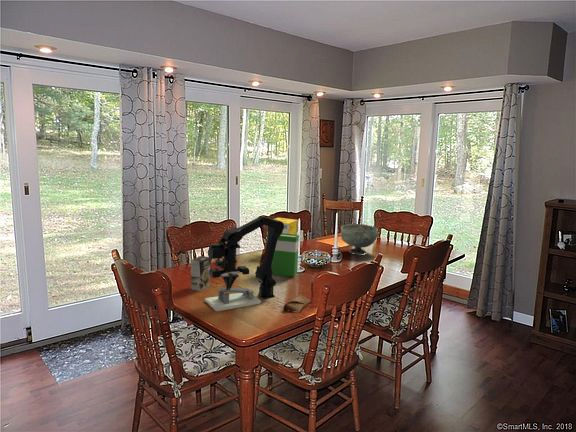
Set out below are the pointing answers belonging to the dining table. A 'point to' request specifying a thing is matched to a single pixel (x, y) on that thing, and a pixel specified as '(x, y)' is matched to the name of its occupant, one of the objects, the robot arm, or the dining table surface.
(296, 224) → the packaging box
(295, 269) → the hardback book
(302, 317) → the dining table surface
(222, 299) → the base
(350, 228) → the decorative bowl
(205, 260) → the coffee box
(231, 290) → the bar
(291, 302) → the sunglasses case
